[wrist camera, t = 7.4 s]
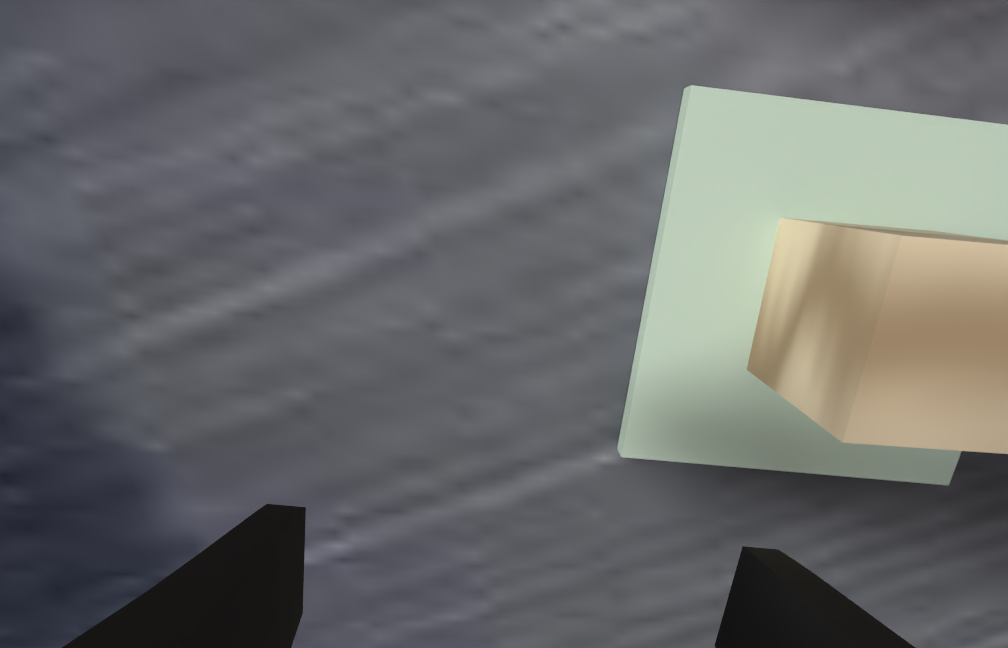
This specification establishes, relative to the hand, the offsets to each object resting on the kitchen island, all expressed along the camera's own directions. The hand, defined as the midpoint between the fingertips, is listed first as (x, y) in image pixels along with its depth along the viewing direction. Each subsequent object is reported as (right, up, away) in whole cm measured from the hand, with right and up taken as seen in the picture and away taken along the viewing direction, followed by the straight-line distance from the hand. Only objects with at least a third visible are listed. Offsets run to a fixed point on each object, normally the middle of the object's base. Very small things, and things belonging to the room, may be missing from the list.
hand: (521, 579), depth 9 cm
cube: (+11, +5, +8) cm, 14 cm away
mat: (+10, +5, +9) cm, 15 cm away
